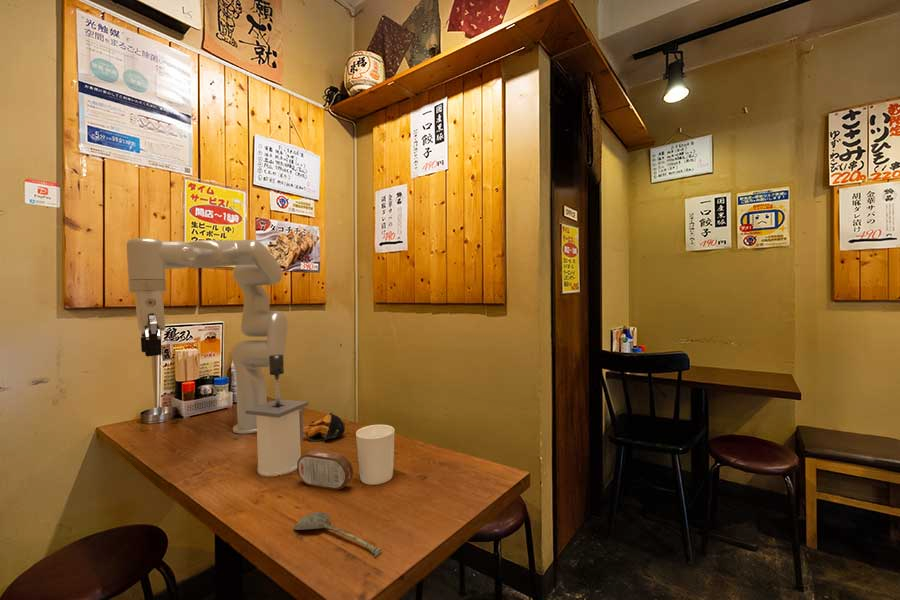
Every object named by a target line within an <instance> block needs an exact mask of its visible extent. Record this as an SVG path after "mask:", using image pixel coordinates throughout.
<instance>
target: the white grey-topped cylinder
mask: <svg viewBox="0 0 900 600" xmlns="http://www.w3.org/2000/svg"><path fill="white" fill-rule="evenodd" d="M308 406H309V401H304V400H303V401H302V400H291V399H281V398H280V407H279V408H276V403H275V399H274V400H272V401H271V400H270V401H269V402H267V403H265V404H262V405H259V406H256V407H254V408H251V409H248V410H246V414H251V415H256V419H257V432H256V440H257V441H256V443H257V446H256V447H257V474H259V476H261V477H269V476H270V477H278V475H280V476H283V474H284V475H287V474H290V473H292V472H294V471H296V470H298V469H297V462H298V460H299V458H300V457H301V456H302V453H301V442H303V441H304V433H303V427H304V422H303V420H304V419H303V408H306V407H308Z"/></svg>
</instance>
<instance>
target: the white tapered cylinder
mask: <svg viewBox="0 0 900 600" xmlns="http://www.w3.org/2000/svg"><path fill="white" fill-rule="evenodd" d="M355 436H356V437H355V438H356V448H357V459H358V460H357V461H358V469H359V470H358V471H359V479H360V482H362V483H363V484H366V485H369V486H370V485H372V486H375V485H381V484H384V483H387V482H389V481H391V479H392V478H393V476H394V457H395V456H394V455H395V451H394V450H395V428H394V427H393V426H391V425H389V424H373V425H372V424H370V425H367V426H363V427H360V428H359V429H358V430H356V431H355Z"/></svg>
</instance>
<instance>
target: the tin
mask: <svg viewBox="0 0 900 600" xmlns="http://www.w3.org/2000/svg"><path fill="white" fill-rule="evenodd" d="M296 470H297V475H298V477H299V478H300V480H301V481H302V482H303V483H304V484H306V485H308V486H311V487H317V488H323V489H329V490H334V491H337V490H338V491H339V490H341V489H344V487H345V486H347V485H349V484H350V483H351V481H352V479H353V478H354V477H353V476H354V468H353V465H352V463H351V461H350V459H349V458H348V457H346V456H345V455H344V454H342V453H340V452H339V453H338V452H332V451H326V450H318V449H310V450H307V451H306V452H305V453H304V454H301V457H300V458H299V460H298V462H297V469H296Z"/></svg>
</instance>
